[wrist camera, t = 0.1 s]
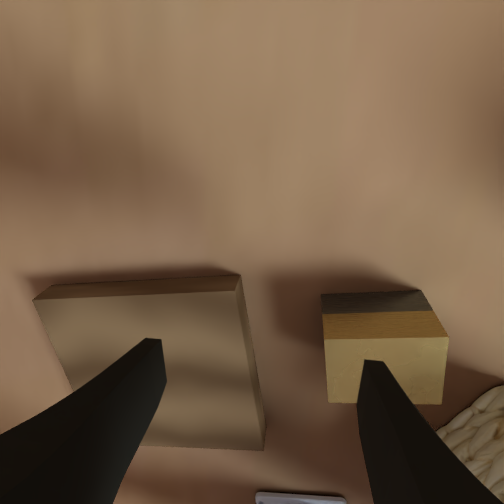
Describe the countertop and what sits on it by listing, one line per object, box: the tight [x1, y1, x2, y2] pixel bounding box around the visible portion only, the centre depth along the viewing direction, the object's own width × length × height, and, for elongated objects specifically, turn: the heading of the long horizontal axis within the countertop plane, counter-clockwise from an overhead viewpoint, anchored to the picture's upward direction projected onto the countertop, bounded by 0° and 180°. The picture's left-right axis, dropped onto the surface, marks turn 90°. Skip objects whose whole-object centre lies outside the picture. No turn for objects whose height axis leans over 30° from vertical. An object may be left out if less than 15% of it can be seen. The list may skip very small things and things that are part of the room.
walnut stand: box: [32, 275, 266, 451], centre depth 25 cm, size 14×14×2 cm
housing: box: [321, 290, 449, 404], centre depth 20 cm, size 4×6×5 cm
